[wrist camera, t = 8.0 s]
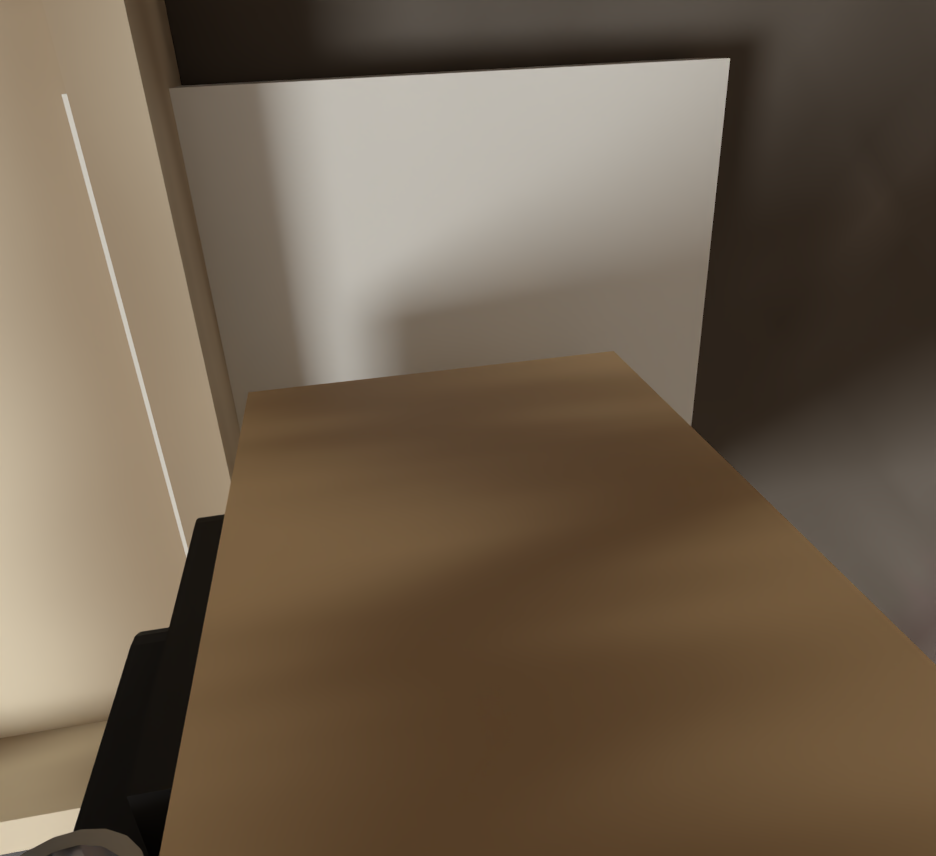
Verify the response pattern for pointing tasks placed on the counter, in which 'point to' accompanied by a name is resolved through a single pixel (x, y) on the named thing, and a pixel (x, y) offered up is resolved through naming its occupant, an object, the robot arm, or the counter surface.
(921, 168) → the counter surface
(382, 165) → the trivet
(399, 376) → the oak block
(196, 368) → the bin
